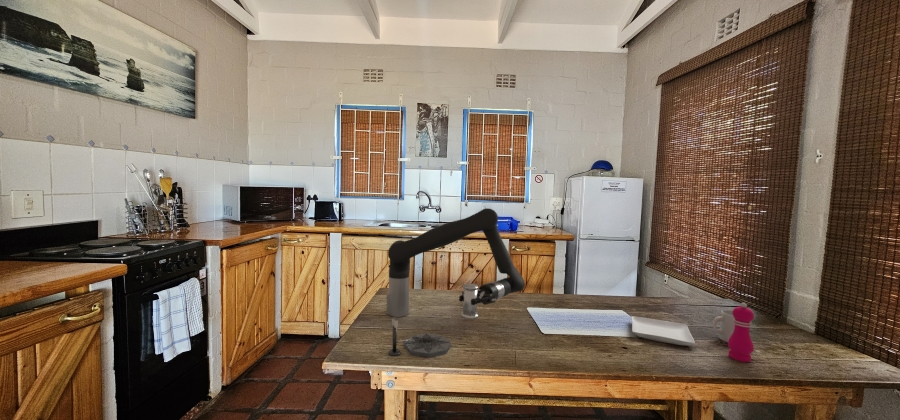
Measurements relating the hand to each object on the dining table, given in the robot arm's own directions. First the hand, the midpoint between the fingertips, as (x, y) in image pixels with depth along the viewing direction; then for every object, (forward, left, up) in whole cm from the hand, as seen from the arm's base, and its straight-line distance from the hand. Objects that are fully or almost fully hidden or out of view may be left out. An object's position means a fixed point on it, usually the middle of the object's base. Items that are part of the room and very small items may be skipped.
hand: (466, 300), depth 138 cm
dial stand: (-19, -17, -16) cm, 30 cm away
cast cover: (+1, +2, -7) cm, 7 cm away
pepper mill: (+96, +18, -16) cm, 99 cm away
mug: (+99, +35, -16) cm, 107 cm away
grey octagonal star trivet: (-12, -10, -16) cm, 22 cm away
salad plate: (+74, +32, -16) cm, 83 cm away
